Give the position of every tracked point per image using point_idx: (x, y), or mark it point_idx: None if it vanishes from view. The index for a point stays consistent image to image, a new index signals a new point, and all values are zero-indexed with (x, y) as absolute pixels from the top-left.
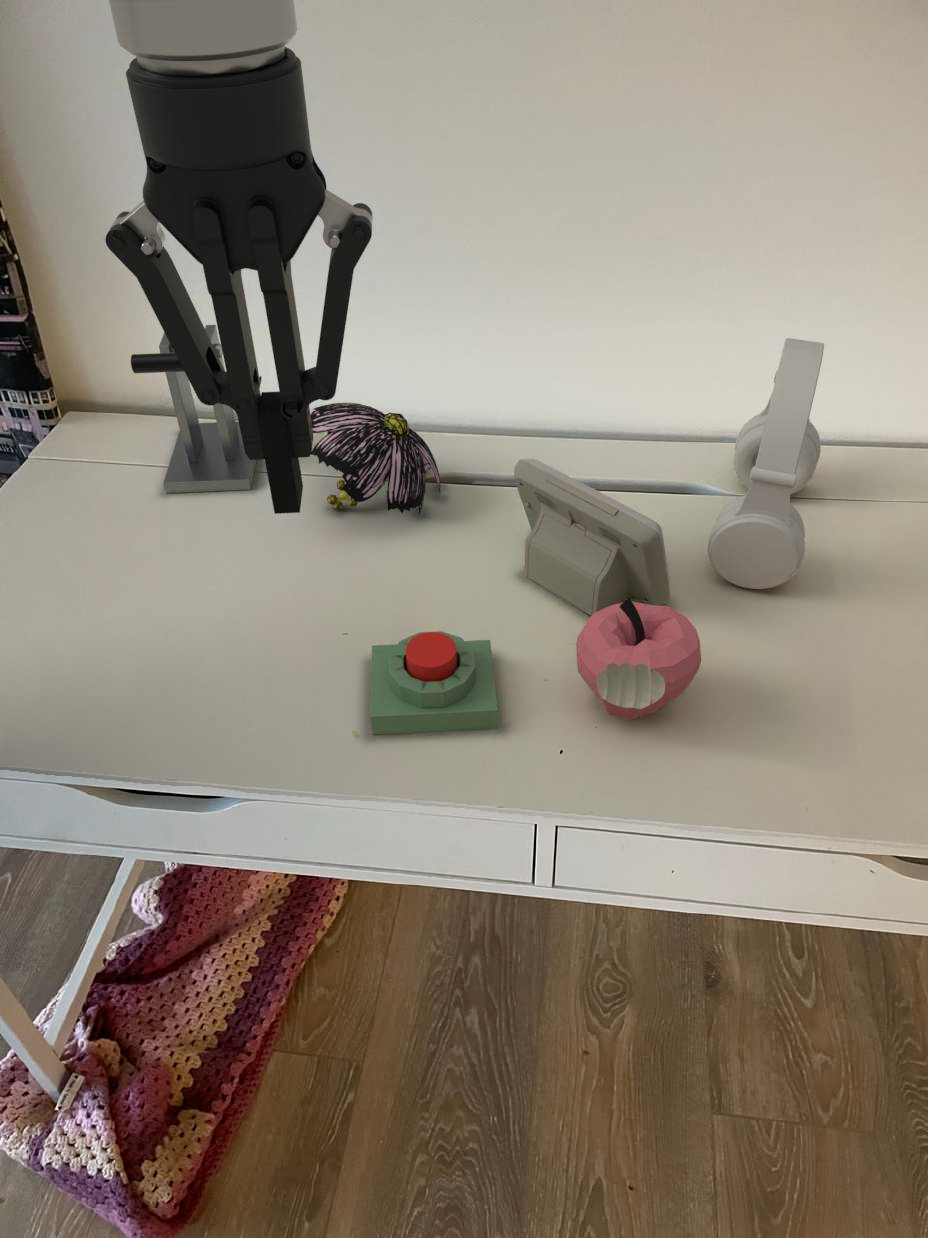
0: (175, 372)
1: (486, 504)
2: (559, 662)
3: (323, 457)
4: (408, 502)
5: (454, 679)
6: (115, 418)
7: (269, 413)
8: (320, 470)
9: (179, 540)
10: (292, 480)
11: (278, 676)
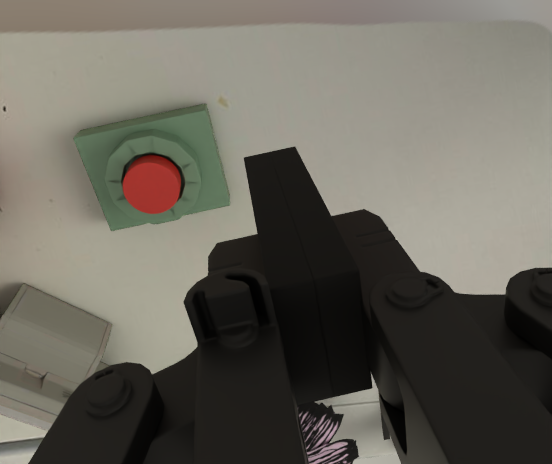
0: None
1: None
2: (44, 224)
3: (328, 412)
4: None
5: (120, 159)
6: None
7: (320, 294)
8: (339, 411)
9: None
10: (253, 186)
11: (318, 165)
